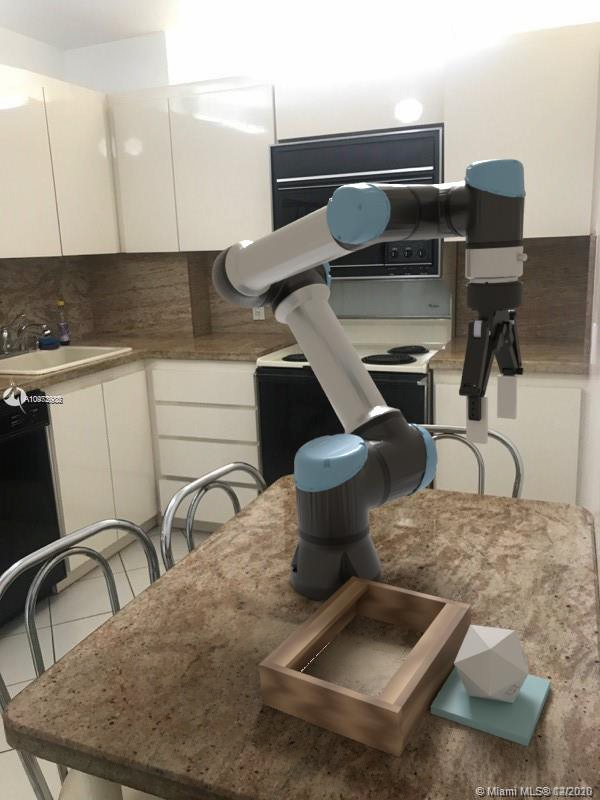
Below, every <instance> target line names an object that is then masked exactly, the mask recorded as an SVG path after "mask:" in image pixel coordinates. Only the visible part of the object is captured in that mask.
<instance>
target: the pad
mask: <svg viewBox="0 0 600 800" xmlns="http://www.w3.org/2000/svg"><path fill="white" fill-rule="evenodd" d="M551 683H552V681H551V679H546V678H543V677H541V676H536V675H533V674H529V673H528V676H527V678H526V680H525V682H524V684H523V685H522V687H521V689H520V691H519V693H518V695H517V697H516V699H515V701H514V703H509V702H503V701H496V700H490V699H484V698H478V697H471V696H468V694H467V692H466V690H465V687H464V685H463V683H462V681H461V678H460V676H459V674H458V672H457V669H456V667H454V669H453V671H452V672H451V674H450V676H449V677H448V679H447V680H446V682H445V684H444V685H443V687H442V689H441V690H440V692H439V693H438V695H437V697H436V698H435V700H434V701H433V703H432V705H431V706H430V713H431V714H432V715H435V716H438V717H440V718H443V719H446V720H450V721H452V722H455V723H458V724H461V725H463V726H467V727H470V728H473V729H475V730H478V731H481V732H484V733H487V734H491V735H492V736H495V737H500V738H502V739H505V740H506V741H507V740H508V741H511V742H513V743H517V744H519V745H523V746H525V747H529V744H530V742H531V739H532V736H533V734H534V731H535V728H536V726H537V724H538V721H539V718H540V715H541V713H542V710H543V708H544V705H545V703H546V700H547V698H548V695H549V692H550V690H551V685H552V684H551Z"/></svg>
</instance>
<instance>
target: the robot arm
mask: <svg viewBox="0 0 600 800" xmlns="http://www.w3.org/2000/svg"><path fill="white" fill-rule="evenodd" d="M524 169H525V168H524V164H523V163H522V162H521V161H520V160H518V159H513V158H501V159H500V158H499V159H497V158H496V159H487V160H480V161H475V162H472V163H469V164H468V165H467V166H466V168H465V176H464V177H463V179H464V180H461V181H457V182H450V183H449V182H448V183H438V184H395V183H393V184H389V183H370V182H367V183H366V182H358V183H354V184H345V185H342V186H340V187H338V188H336V189H335V191H333V195H332V196H331V198H329V200H328V202H327V205H325V206H323V207H321V208H319V209H317V210H315V211H313V212H311V213H308V214H307V215H304V216H303V217H301V218H299V219H297V220H295V221H293V222H291V223H288V224H287V225H285V226H283V227H281V228H278V229H276V230H274V231H273V232H270V233H268V234H266V235H264V236H262V237H260V238H258V239H256V240H255V241H252V240H251V241H250V240H242V241H238V242H237V243H235V244H233V245H230V246H229V247H227V248H224V250H222V251H221V252H220V253H219V254H218V255H217V257H215V258H216V259H215V260H214V262H213V265H212V271H211V279H212V282H213V283H212V284H213V287H214V288H215V290H216V292H217V294H218V295H219V297H220V298H222V300H224V301H225V302H227V303H228V304H229V305H231V306H234V307H236V308H237V307H238V308H240V309H241V308H242V309H255V308H264V307H267V308H269V309H270V311H271V312H272V315H273V316H274V318H275V319H276V321H277V322H278V323H280V324H285V325H288V327H289V328H290V331H291V333H292V334H293V337H294V338H295V340H296V342H297V344H298V345H299V347H300V349H301V351H302V353H303V354H304V356H305V358H306V360H307V362H308V364H309V365H310V368H311V370H312V371H313V372H314V373H313V374H314V375H315V376H316V379H317V380H318V382H319V384H320V386H321V388H322V390H323V391H324V394H325V395H326V397H327V399H328V401H329V402H330V404H331V406H332V408H333V410H334V412H335V414H336V416H337V417H338V420H339V421H340V423H341V425H342V427H343V428H344V433H336V434H334V435H324V436H323V435H322V436H320V437H316V438H314V439H312V440H309V441H308V442H306V443H304V444H303V445H302V446H301V447H300V448H299V449H298V451H297V452H296V454H295V457H294V462H293V463H294V466H293V467H294V469H293V470H294V472H293V483H294V486H295V487H294V488H295V489H294V490H295V500H296V503H295V505H296V515H297V516H296V520H297V531H298V532H297V534H298V535H297V536H298V537H297V541H296V545H295V549H294V552H293V557H292V560H291V563H290V569H289V574H290V577H289V578H290V585H291V587H292V588H293V589H294V591H296V592H297V593H298V594H300V595H301V596H304V597H305V598H307V599H310V600H313V601H314V600H315V601H319V602H326V601H327V600H328V599H329V598H330V597H331V596H332V595H333V594H334V593H335V592H337V591H338V590H339V589H340V588H341V587H342V586H343V585H344V584H345V583H346V582H347V581H348V580H349V579H350V578H351V577H352V576H354V577H358V578H362V579H366V580H370V581H374V582H378V583H382V580H383V567H382V562H381V559H380V557H379V555H378V552H377V550H376V547H375V544H374V541H373V539H372V536H371V532H370V529H371V528H370V511H371V510H374V509H376V508H379V507H382V506H384V505H386V504H389V503H391V502H395V501H398V500H400V499H403V498H405V497H411V496H412V495H414V494H415V493H418V492H419V491H421V490H423V489H425V488H427V487H428V486H429V484H430V483H432V481H433V479H434V478H435V475H436V472H437V465H438V462H439V457H438V450H437V445H436V443H435V440H434V439H433V437H432V435H431V434H430V432H429V431H428V430H427V429H426V428H425V427H423V426H420V425H418V424H417V423H408V421H407V419H406V418H405V416H404V415H403V413H402V412H401V410H400V409H398V408H394V407H391V406H388V405H387V403H386V401H385V399H384V398H383V395H382V394H381V392H380V390H379V389H378V388H377V387H378V386H376V384H375V382H374V380H373V379H372V377H371V375H370V373H369V372H368V370H367V368H366V366H365V365H364V363H363V361H362V359H361V358H360V357H359V356H360V355H359V354H358V352H357V351H356V349H355V347H354V345H353V344H352V342H351V340H350V338H349V336H348V335H347V334H346V331H345V330H344V328H343V326H342V325H341V323H340V321H339V320H338V317H337V315H336V314H335V312H334V311H333V309H332V307H331V305H330V303H329V302H328V301H329V298H330V296H331V290H330V286H331V283H332V276H331V275H330V273H329V272H331V267H330V263H329V262H331V261H333V260H336V259H338V258H341V257H344V256H346V255H349V254H351V253H353V252H357V251H360V250H363V249H365V248H368V247H370V246H372V245H375V244H379V243H385V242H387V243H388V242H399V241H429V240H433V239H435V240H436V239H449V238H465V269H464V270H465V272H464V273H465V275H464V276H465V278H466V279H469V282H467V283H466V285H465V308H466V309H467V310H470V311H476V312H477V313H478V317H477V320H469V321H468V324H467V325H468V327H467V328H468V331H467V333H468V334H467V342H466V348H465V354H464V355H465V356H464V360H463V366H462V367H463V368H462V372H461V373H462V374H461V379H460V384H459V389H458V394H459V396H461V397H465V401H466V403H465V405H466V407H465V408H466V411H465V412H466V416H465V418H466V423H465V426H466V428H465V429H466V430H465V431H466V432H465V434H466V435H465V436H466V437H465V438H466V439H465V442H466V443H473V444H480V445H481V444H482V445H487V444H489V442H488V441H489V440H488V439H489V436H488V435H489V434H488V433H489V431H488V430H489V396H488V395H486V392H487V389H488V388H487V387H488V383H489V380H490V375H491V373H492V367H493V363H494V358H495V360H496V364H497V366H498V370H499V374H497V384H496V385H497V387H496V388H497V392H496V394H497V395H496V396H497V400H496V401H497V403H496V405H497V406H496V407H497V409H496V410H497V411H496V413H497V414H496V419H497V418H498V419H499V418H500V419H510V420H516V419H517V414H518V413H517V410H518V408H517V407H518V405H517V402H518V401H517V400H518V399H517V398H518V376H523V374H524V368H523V367H522V366H523V363H522V355H521V349H520V348H521V347H520V339H519V333H518V328H517V327H518V326H517V310H518V309H520V308H521V307H522V306H523V304H524V303H523V298H524V297H523V296H524V292H523V291H524V283H523V282H522V280H518V279H519V277H521V276H523V274H524V271H523V270H524V268H523V267H524V262H526V261H527V260H528V255H527V253H523V252H524V223H525V222H524V220H525V219H524V217H525V216H524V215H525V202H526V196H527V194H526V190H525V189H526V188H525V170H524Z"/></svg>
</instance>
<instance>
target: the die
mask: <svg viewBox="0 0 600 800" xmlns="http://www.w3.org/2000/svg"><path fill="white" fill-rule="evenodd" d="M454 665H455V667H456V669H457V672H458V674H459V676H460V678H461V681H462V683H463V685H464V687H465V690H466V692H467V694H468V696H471V697H478V698H484V699H490V700H496V701H503V702H509V703H514V701H515V699H516V697H517V695H518V693H519V691H520V689H521V687H522V685H523V684H524V682H525V680H526V678H527V676H528V674H529V662H528V659H527V657H526V655H525V652H524V648H523V647H522V645H521V643H520V639H519V637H518V635H517V633H516V630H514V629H507V628H498V627H491V626H483V625H476V624H475V625H474V624H471V625H470V627H469V629H468V632H467V634H466V636H465V638H464V641H463V643H462V645H461V648H460V650H459V652H458V655H457V657H456V659H455V662H454ZM455 667H454V668H455Z"/></svg>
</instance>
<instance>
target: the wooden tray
mask: <svg viewBox="0 0 600 800" xmlns="http://www.w3.org/2000/svg"><path fill="white" fill-rule="evenodd" d="M471 608H472V604H470V603H465V602H461V601H458V600H457V601H456V600H452V599H448V598H444V597H440V596H435V595H432V594H427V593H423V592H420V591H415V590H411V589H407V588H402V587H398V586H396V585H395V586H394V585H391V584H386V583H382V582H381V583H378V582H374V581H370V580H366V579H362V578H358V577H354V576H352V577H351V578H350V579H349V580H348V581H347V582H346V583H345V584H344V585H343V586H342V587H341V588H340V589H339V590H338V591H337V592H335V593H334V594H333V595H332V596H331V597H330V598H329V599H328V600H327V601H324V602H323V604H322V605H320V606H319V607H318V608H317V609H316V610H315V611H314V612H313V613H312V614H311V615H309V617H308V618H307V619H305V620H304V622H302V623H301V624H300V625H299V626H298V627H297V628H296V629H295V630H294V631H293V632H292V633H290V635H289V636H287V637H286V638H285V639H284V640H283V641H282V642H281V643H280V644H279V645H278V646H277V647H276V648H274V650H273V651H271V653H270V654H268V656H266V657H265V658H264V659H263V660H262V661H261V662H259V664H258V667H259V679H260V691H261V701H262V705H263V704H265V705H264V706H266V705H267V706H266V707H268V706H270V707H269V708H271V707H272V708H271V709H273V708H275V709H274V710H276V709H278V710H277V711H279V710H281V711H283V712H282V713H284V712H285V713H284V714H286V713H287V714H286V715H289V714H290V715H289V716H291V715H293V716H292V717H294V716H295V718H297V717H298V718H297V719H299V718H301V719H300V720H302V719H303V720H302V721H304V720H305V722H307V721H308V722H307V723H309V722H310V723H309V724H312V725H315V726H318V727H320V728H321V729H325V730H327V731H330V732H333V733H335V734H338V735H340V736H343V737H345V738H347V739H351V740H353V741H356V742H359V743H361V744H364V745H366V746H369V747H372V748H374V749H376V750H379V751H381V752H384V753H387V754H389V755H392V756H395V757H398V758H400V756H401V755H402V754H403V751H405V748H406V747H407V746H408V744H409V743H410V741H411V739H412V737H413V736H414V734H415V732H416V730H418V727H419V726H420V724H421V723H422V721H423V719H424V718H425V716H426V715H427V714H428V712H429V709H431V705H432V703H433V702H434V700H435V699H436V697H437V695H438V694H439V692H440V690H441V689H442V687H443V686H444V684H445V682H446V681H447V679H448V678H449V676H450V674H451V673H452V671H453V669H454V668H455V665H454V662H455V659H456V657H457V655H458V652H459V650H460V648H461V645H462V643H463V641H464V638H465V636H466V634H467V632H468V629H469V627H470V625H472V624H471V623H472V621H471V620H472V619H471V618H472V609H471ZM357 615H358V616H362V617H366V618H370V619H373V620H377V621H381V622H384V623H388V624H390V625H395V626H399V627H403V628H406V629H410V630H413V631H417V632H420V633H423V635H422V636H421V637H420V639H418V641H417V642H416V644H415V645H414V647H413V648H412V650H411V651H410V652H409V653H408V655H407V656H406V657H405V659H404V660H403V662H402V663H401V664H400V665H399V667H398V668H397V669H396V671H395V672H394V674H393V675H392V676H391V678H390V679H389V681H388V682H387V683H386V685H385V686H384V688H383V689H382V690H381V692H379V694H378V695H377V697H376V698H375V697H373V696H370V695H367V694H363V693H360V692H358V691H356V690H353V689H350V688H346V687H344V686H341V685H338V684H335V683H332V682H329V681H327V680H323V679H322V678H321V679H320V678H317V677H315V676H311V675H310V674H305V673H303V672H302V673H300V672H301V670H302V669H304V667H306V666H307V665H308V663H310V661H311V660H312V659H313V658H315V657H316V655H317V654H318V653H319V652H320V651H321V650H322V649H323V648H324V647H325V646H326V645H327V644H328V643H329V642H330V641H331V640H332V639H333V638H334V637H335V636H336V637H337V636H338V635H339V634H340V633H341V632H342V631H343V630H344V628H346V626H348V624H350V622H351V621H352V620H353V619H354V618H355V617H356V616H357ZM341 630H342V631H341ZM340 631H341V632H340ZM339 632H340V633H339ZM336 637H335V638H336ZM335 638H334V639H335ZM334 639H333V640H334ZM333 640H332V641H333ZM332 641H331V642H332ZM331 642H330V643H331ZM330 643H329V644H330ZM329 644H328V645H329ZM328 645H327V646H328ZM327 646H326V647H327ZM326 647H325V648H326ZM325 648H324V649H325ZM316 658H317V657H316ZM316 658H315V659H316ZM310 664H311V663H310ZM308 666H309V665H308ZM308 666H307V667H308ZM307 667H306V668H307ZM281 711H280V712H281Z"/></svg>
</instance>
